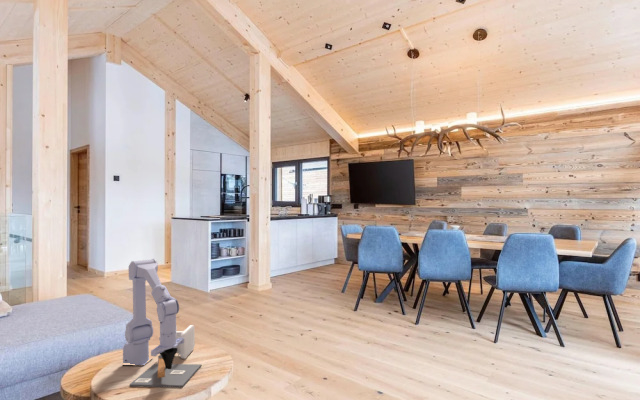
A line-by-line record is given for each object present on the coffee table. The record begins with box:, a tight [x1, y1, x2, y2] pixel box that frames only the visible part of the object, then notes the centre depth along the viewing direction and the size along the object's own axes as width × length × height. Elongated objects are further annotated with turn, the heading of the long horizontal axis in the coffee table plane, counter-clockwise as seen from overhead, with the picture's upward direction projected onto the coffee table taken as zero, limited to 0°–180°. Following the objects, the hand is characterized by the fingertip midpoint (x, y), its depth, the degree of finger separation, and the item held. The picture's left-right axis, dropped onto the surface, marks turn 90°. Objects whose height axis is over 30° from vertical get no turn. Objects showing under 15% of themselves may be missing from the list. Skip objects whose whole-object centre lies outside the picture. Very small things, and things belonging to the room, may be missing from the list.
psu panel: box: [129, 363, 202, 389], centre depth 147 cm, size 20×18×1 cm
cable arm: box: [157, 354, 166, 378], centre depth 145 cm, size 16×3×5 cm, turn 21°
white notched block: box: [159, 324, 196, 360], centre depth 168 cm, size 15×11×12 cm
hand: (168, 368), depth 143 cm, fingers closed
